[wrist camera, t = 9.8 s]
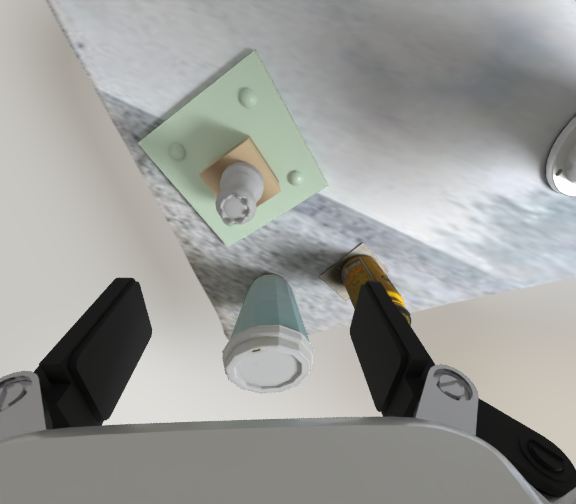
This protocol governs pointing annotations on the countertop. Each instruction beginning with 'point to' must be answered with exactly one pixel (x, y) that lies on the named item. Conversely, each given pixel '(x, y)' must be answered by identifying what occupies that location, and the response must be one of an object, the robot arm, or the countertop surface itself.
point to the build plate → (228, 133)
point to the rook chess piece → (239, 193)
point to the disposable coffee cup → (268, 340)
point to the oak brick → (242, 153)
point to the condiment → (361, 277)
